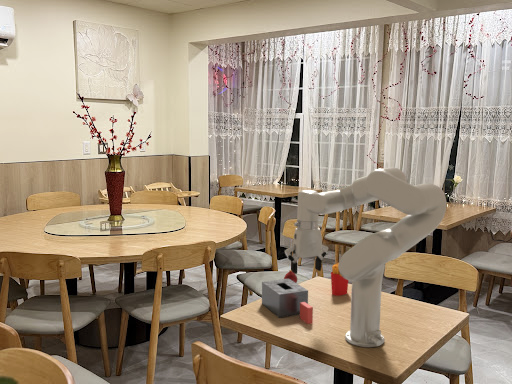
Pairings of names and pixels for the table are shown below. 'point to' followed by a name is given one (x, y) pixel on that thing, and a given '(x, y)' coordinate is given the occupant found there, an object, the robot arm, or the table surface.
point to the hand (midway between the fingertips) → (306, 271)
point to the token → (306, 312)
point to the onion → (291, 276)
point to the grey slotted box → (283, 297)
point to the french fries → (338, 282)
